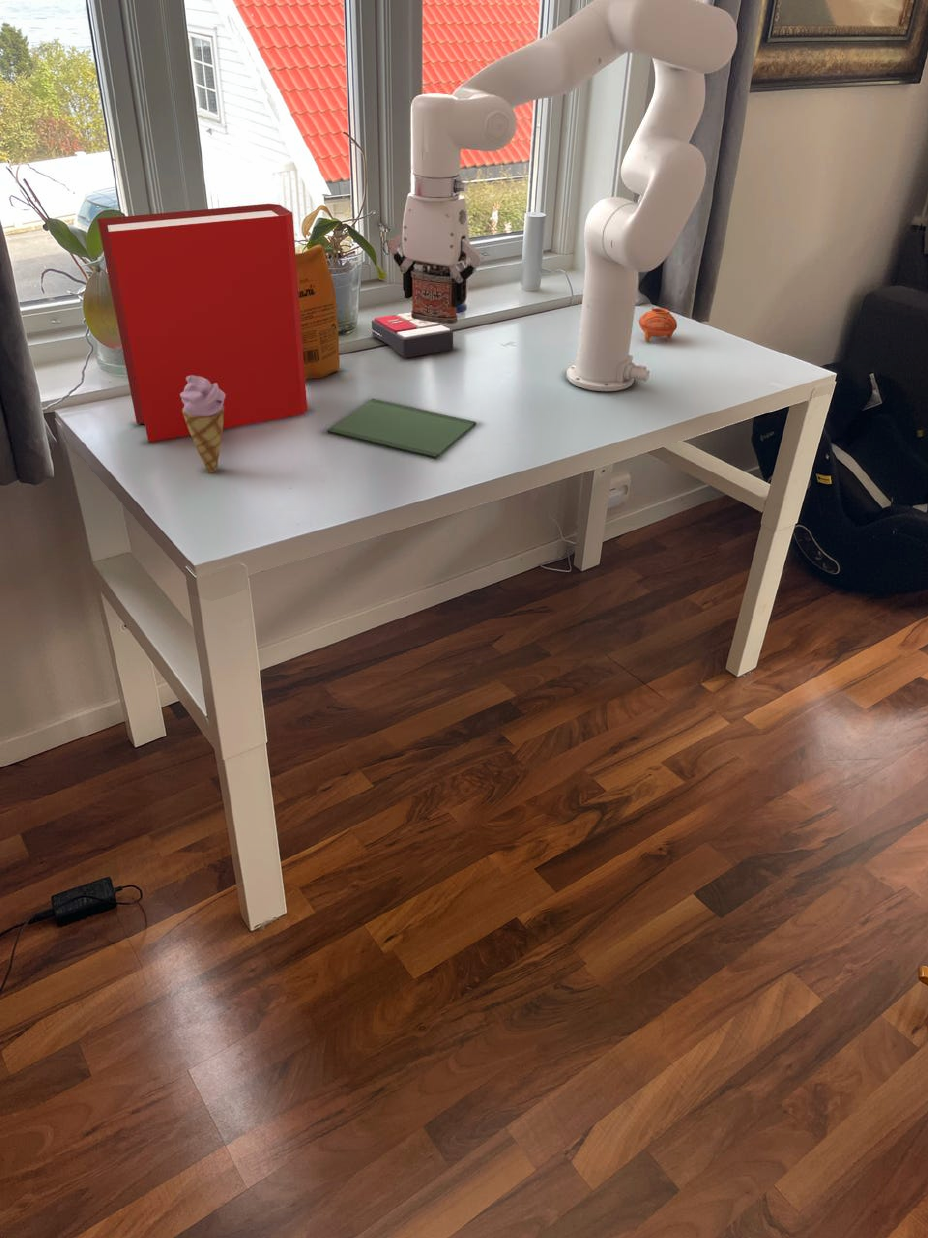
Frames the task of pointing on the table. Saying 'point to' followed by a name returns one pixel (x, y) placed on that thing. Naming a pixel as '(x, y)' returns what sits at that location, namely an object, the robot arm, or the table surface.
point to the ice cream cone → (204, 418)
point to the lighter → (433, 294)
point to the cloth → (403, 428)
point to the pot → (657, 323)
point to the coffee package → (317, 313)
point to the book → (208, 312)
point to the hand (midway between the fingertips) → (434, 300)
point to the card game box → (412, 335)
